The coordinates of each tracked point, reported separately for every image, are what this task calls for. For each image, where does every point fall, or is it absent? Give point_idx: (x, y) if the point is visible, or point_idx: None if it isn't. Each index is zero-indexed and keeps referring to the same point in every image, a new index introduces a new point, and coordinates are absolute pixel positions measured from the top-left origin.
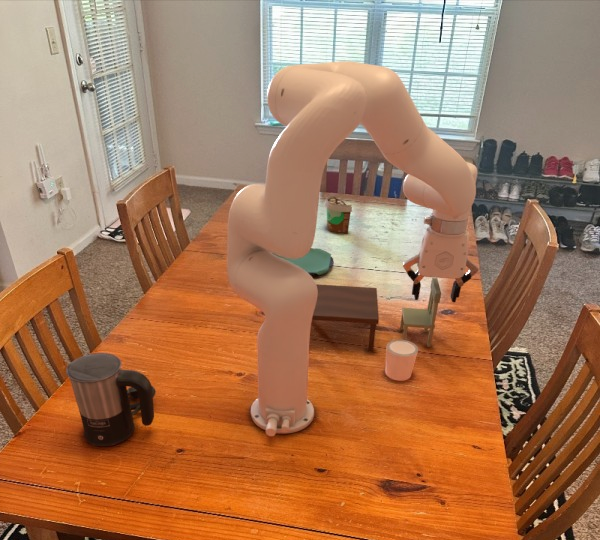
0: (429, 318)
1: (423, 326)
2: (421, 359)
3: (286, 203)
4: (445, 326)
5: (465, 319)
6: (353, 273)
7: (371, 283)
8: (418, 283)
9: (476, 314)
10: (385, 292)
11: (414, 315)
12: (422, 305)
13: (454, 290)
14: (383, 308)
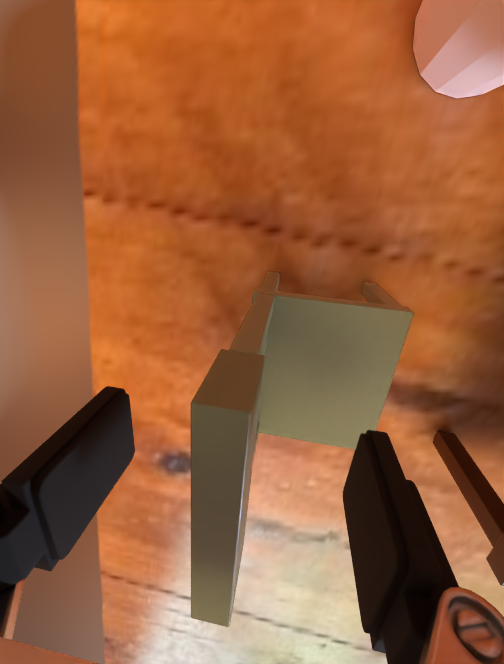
0: (265, 360)
1: (310, 296)
2: (322, 181)
3: None
4: (193, 397)
5: (132, 427)
6: None
7: (357, 598)
8: (420, 591)
9: None
10: (331, 561)
11: (331, 388)
12: None
13: (68, 460)
14: None
